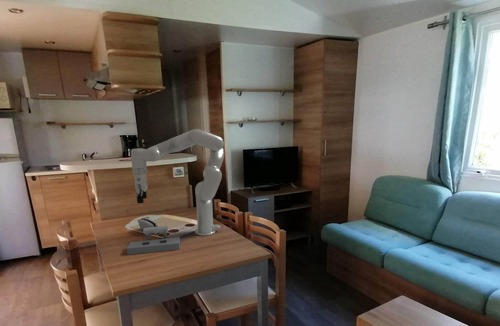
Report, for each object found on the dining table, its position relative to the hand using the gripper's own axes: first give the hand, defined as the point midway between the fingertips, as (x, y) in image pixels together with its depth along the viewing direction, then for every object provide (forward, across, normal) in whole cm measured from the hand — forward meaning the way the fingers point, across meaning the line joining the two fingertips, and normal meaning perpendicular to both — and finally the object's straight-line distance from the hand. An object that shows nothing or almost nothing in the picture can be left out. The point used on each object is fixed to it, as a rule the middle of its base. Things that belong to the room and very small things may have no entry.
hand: (142, 200), depth 155 cm
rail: (+24, -12, -7) cm, 28 cm away
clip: (+24, -3, -7) cm, 25 cm away
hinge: (+24, +15, 0) cm, 29 cm away
